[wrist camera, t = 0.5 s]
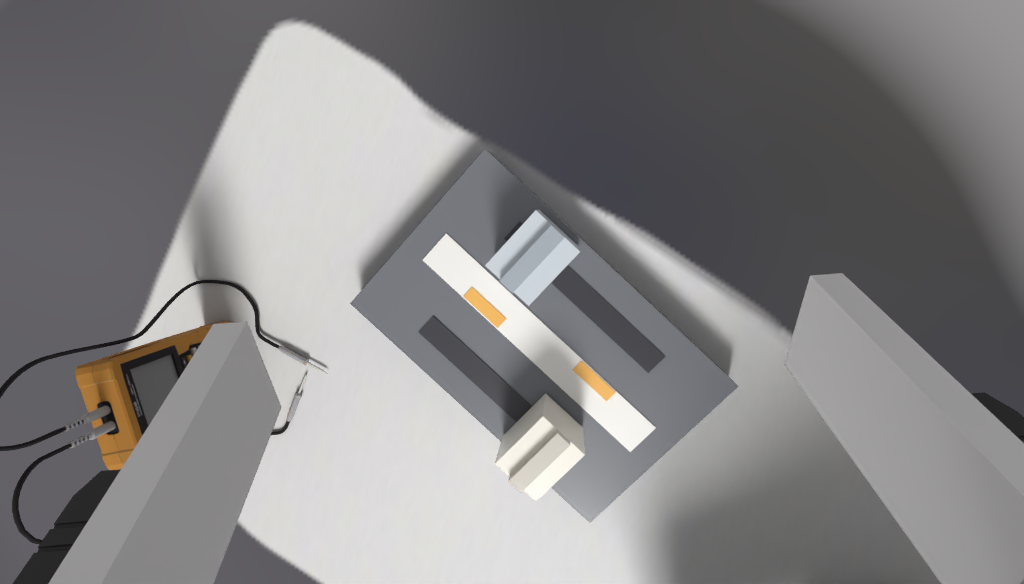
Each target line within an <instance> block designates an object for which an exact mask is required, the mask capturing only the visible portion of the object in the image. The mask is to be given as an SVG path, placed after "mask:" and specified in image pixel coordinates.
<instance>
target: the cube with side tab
mask: <svg viewBox="0 0 1024 584" xmlns="http://www.w3.org/2000/svg"><path fill="white" fill-rule="evenodd" d="M579 253H580V249H579V246H578V245H577V244H576V243H575V242H573V241H572V240H571V239H570V238H569V237H568V236H567V235H566V234H565V233H564V232H563V231H562V230H561V229H560V228H559V227H557V226H556V225H555V224H554V223H553V222H552V221H551V220H550V219H549V218H548V217H547V216H546V215H545V214H544V213H543V212H541V211H540V210H535V211H534V213H533V214H532V215H531V216H530V217H529V218H528V219H527V220H526V221H525V222H524V223H523V225H522V226H521V227H520V228H519V229H518V230H517V231H516V232H515V233H514V234H513V236H512V237H511V238H510V239H509V240H508V241H507V242H506V243H505V244H504V245H503V246H502V248H501V249H500V250H499V251H498V252H497V253H496V254H495V255H494V256H493V257H492V258H491V260H490V261H489V262H488V263H487V264H486V265H485V266H486V267H487V268H488V269H489V270H490V271H491V272H492V273H494V274H495V275H496V276H497V277H498V278H499V279H500V282H501V283H502V284H503V285H504V286H505V287H506V288H507V289H508V290H509V291H511V292H512V293H513V292H514V293H515V294H516V295H517V296H518V297H519V298H520V299H522V300H523V301H524V302H525V303H526V304H527V305H528V306H529V305H530V304H531V303H532V302H533V301H534V300H535V299H536V298H537V297H538V296H539V295H540V294H541V293H542V291H543V290H544V289H545V288H546V287H547V286H548V285H549V284H550V283H551V282H552V281H553V280H554V279H555V278H556V277H557V276H558V275H559V274H560V273H561V272H562V270H563V269H564V268H565V267H566V266H567V265H568V264H569V263H570V262H571V261H572V260H573V259H574V258H575V257H576V256H577V255H578V254H579Z"/></svg>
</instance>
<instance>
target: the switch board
mask: <svg viewBox="0 0 1024 584" xmlns="http://www.w3.org/2000/svg"><path fill="white" fill-rule="evenodd" d="M535 210H540V211H541V212H543V213H544V214H545V215H546V216H547V217H548V218H549V219H550V220H551V221H552V222H553V223H554V224H555V225H556V226H557V227H559V228H560V229H561V230H562V231H563V232H564V233H565V234H566V235H567V236H568V237H569V238H570V239H571V240H572V241H573V242H575V243H576V244H577V245H578V246H579V249H580V253H579V254H578V255H577V256H576V257H575V258H574V259H573V260H572V261H571V262H570V263H569V264H568V265H567V266H566V267H565V268H564V269H563V270H562V272H561V273H560V274H559V275H558V276H557V277H556V278H555V279H554V280H553V281H552V282H551V283H550V284H549V285H548V286H547V287H546V288H545V289H544V290H543V291H542V293H541V294H540V295H539V296H538V297H537V298H536V299H535V300H534V301H533V302H532V303H531V304H530V305H529V306H528V305H527V304H526V303H525V302H524V301H523V300H522V299H520V298H519V297H518V296H517V295H516V294H515V293H514V292H513V293H512V292H511V291H509V290H508V289H507V288H506V287H505V286H504V285H503V284H502V283H501V282H500V279H499V278H498V277H497V276H496V275H495V274H494V273H492V272H491V271H490V270H489V269H488V268H487V267H486V266H485V265H486V264H487V263H488V262H489V261H490V260H491V258H492V257H493V256H494V255H495V254H496V253H497V252H498V251H499V250H500V249H501V248H502V246H503V245H504V244H505V243H506V242H507V241H508V240H509V239H510V238H511V237H512V236H513V234H514V233H515V232H516V231H517V230H518V229H519V228H520V227H521V226H522V225H523V223H524V222H525V221H526V220H527V219H528V218H529V217H530V216H531V215H532V214H533V213H534V211H535ZM350 304H351V305H352V306H353V307H355V308H356V309H357V310H358V311H359V312H360V313H361V314H362V315H363V316H364V317H365V318H367V319H368V320H369V321H370V322H371V323H372V324H373V325H374V326H375V327H376V328H377V329H379V330H380V331H381V332H382V333H383V334H384V335H385V336H386V337H387V338H388V339H389V340H391V341H392V342H393V343H394V344H395V345H396V346H397V347H398V348H399V349H400V350H402V351H403V352H404V353H405V354H406V355H407V356H408V357H409V358H410V359H411V360H412V361H414V362H415V363H416V364H417V365H418V366H419V367H420V368H421V369H422V370H423V371H424V372H426V373H427V374H428V375H429V376H430V377H431V378H432V379H433V380H434V381H435V382H436V383H438V384H439V385H440V386H441V387H442V388H443V389H444V390H445V391H446V392H447V393H449V394H450V395H451V396H452V397H453V398H454V399H455V400H456V401H457V402H458V403H459V404H461V405H462V406H463V407H464V408H465V409H466V410H467V411H468V412H469V413H470V414H471V415H473V416H474V417H475V418H476V419H477V420H478V421H479V422H480V423H481V424H482V425H483V426H485V427H486V428H487V429H488V430H489V431H490V432H491V433H492V434H493V435H494V436H495V437H497V438H498V439H499V440H500V441H501V440H502V437H503V435H504V434H505V433H506V432H507V431H508V430H509V429H510V428H511V427H512V426H513V425H514V424H515V423H516V422H517V421H518V420H519V419H520V418H521V417H522V416H523V415H524V414H525V413H526V412H527V411H528V410H529V409H530V408H531V407H532V406H533V405H534V404H535V403H536V402H537V401H538V400H539V399H540V398H541V397H542V396H543V395H544V394H545V393H546V394H547V395H548V396H549V397H550V398H551V399H553V400H554V401H555V402H556V403H557V404H558V405H559V406H560V407H561V408H562V409H563V410H564V411H566V412H567V413H568V414H569V415H570V416H571V417H572V418H573V419H574V420H575V421H576V422H577V423H579V424H580V425H581V426H582V427H583V433H584V447H585V456H583V457H582V458H581V459H580V460H579V461H578V462H577V463H576V464H575V465H574V466H573V467H572V468H571V469H570V470H569V471H568V472H567V473H566V474H565V475H564V476H562V477H561V478H560V479H559V480H558V481H557V482H556V483H555V484H554V485H553V486H552V487H551V488H552V489H553V490H555V491H556V492H557V493H558V494H559V495H560V496H561V497H562V498H563V499H564V500H565V501H567V502H568V503H569V504H570V505H571V506H572V507H573V508H574V509H575V510H576V511H577V512H579V513H580V514H581V515H582V516H583V517H584V518H585V519H586V520H587V521H588V522H589V523H590V522H591V521H592V520H593V519H595V518H596V517H597V516H598V515H599V514H600V513H601V512H602V511H603V510H604V509H605V508H606V507H608V506H609V505H610V504H611V503H612V502H613V501H614V500H615V499H616V498H617V497H618V496H620V495H621V494H622V493H623V492H624V491H625V490H626V489H627V488H628V487H629V486H630V485H631V484H633V483H634V482H635V481H636V480H637V479H638V478H639V477H640V476H641V475H642V474H643V473H645V472H646V471H647V470H648V469H649V468H650V467H651V466H652V465H653V464H654V463H655V462H656V461H658V460H659V459H660V458H661V457H662V456H663V455H664V454H665V453H666V452H667V451H668V450H670V449H671V448H672V447H673V446H674V445H675V444H676V443H677V442H678V441H679V440H680V439H682V438H683V437H684V436H685V435H686V434H687V433H688V432H689V431H690V430H691V429H692V428H693V427H695V426H696V425H697V424H698V423H699V422H700V421H701V420H702V419H703V418H704V417H705V416H707V415H708V414H709V413H710V412H711V411H712V410H713V409H714V408H715V407H716V406H717V405H718V404H720V403H721V402H722V401H723V400H724V399H725V398H726V397H727V396H728V395H729V394H730V393H732V392H733V391H734V390H735V389H736V388H737V387H738V386H737V385H736V384H735V383H734V381H733V380H732V379H731V378H730V377H729V376H728V375H727V374H726V373H725V372H724V371H722V370H721V369H720V368H719V367H718V366H717V365H716V364H715V363H714V362H713V361H712V360H711V359H710V358H709V357H708V356H706V355H705V354H704V353H703V352H702V351H701V350H700V349H699V348H698V347H697V346H696V345H695V344H694V343H693V342H692V341H690V340H689V339H688V338H687V337H686V336H685V335H684V334H683V333H682V332H681V331H680V330H679V329H678V328H677V327H676V326H674V325H673V324H672V323H671V322H670V321H669V320H668V319H667V318H666V317H665V316H664V315H663V314H662V313H661V312H660V311H658V310H657V309H656V308H655V307H654V306H653V305H652V304H651V303H650V302H649V301H648V300H647V299H646V298H645V297H643V296H642V295H641V294H640V293H639V292H638V291H637V290H636V289H635V288H634V287H633V286H632V285H631V284H630V283H629V282H627V281H626V280H625V279H624V278H623V277H622V276H621V275H620V274H619V273H618V272H617V271H616V270H615V269H614V268H613V267H611V266H610V265H609V264H608V263H607V262H606V261H605V260H604V259H603V258H602V257H601V256H600V255H599V254H598V253H597V252H595V251H594V250H593V249H592V248H591V247H590V246H589V245H588V244H587V243H586V242H585V241H584V240H583V239H582V238H581V237H579V236H578V235H577V234H576V233H575V232H574V231H573V230H572V229H571V228H570V227H569V226H568V225H567V224H566V223H565V222H563V221H562V220H561V219H560V218H559V217H558V216H557V215H556V214H555V213H554V212H553V211H552V210H551V209H550V208H549V207H547V206H546V205H545V204H544V203H543V202H542V201H541V200H540V199H539V198H538V197H537V196H536V195H535V194H534V193H533V192H531V191H530V190H529V189H528V188H527V187H526V186H525V185H524V184H523V183H522V182H521V181H520V180H519V179H518V178H517V177H515V176H514V175H513V174H512V173H511V172H510V171H509V170H508V169H507V168H506V167H505V166H504V165H503V164H502V163H501V162H499V161H498V160H497V159H496V158H495V157H494V156H493V155H492V154H491V153H490V152H489V151H487V150H486V149H484V150H483V152H482V153H481V154H480V155H479V156H478V157H477V158H476V160H475V161H474V162H473V163H472V164H471V165H470V166H469V168H468V169H467V170H466V171H465V172H464V173H463V175H462V176H461V177H460V178H459V179H458V180H457V181H456V183H455V184H454V185H453V186H452V187H451V188H450V189H449V191H448V192H447V193H446V194H445V195H444V196H443V197H442V199H441V200H440V201H439V202H438V203H437V204H436V206H435V207H434V208H433V209H432V210H431V211H430V212H429V214H428V215H427V216H426V217H425V218H424V219H423V220H422V222H421V223H420V224H419V225H418V226H417V227H416V229H415V230H414V231H413V232H412V233H411V234H410V235H409V237H408V238H407V239H406V240H405V241H404V242H403V243H402V245H401V246H400V247H399V248H398V249H397V250H396V252H395V253H394V254H393V255H392V256H391V257H390V258H389V260H388V261H387V262H386V263H385V264H384V265H383V266H382V268H381V269H380V270H379V271H378V272H377V273H376V274H375V276H374V277H373V278H372V279H371V280H370V281H369V283H368V284H367V285H366V286H365V287H364V288H363V289H362V291H361V292H360V293H359V294H358V295H357V296H356V297H355V299H354V300H353V301H352V302H351V303H350Z"/></svg>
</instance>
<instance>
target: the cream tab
mask: <svg viewBox="0 0 1024 584" xmlns="http://www.w3.org/2000/svg"><path fill="white" fill-rule="evenodd" d="M583 456H585V447H584V433H583V427H582V426H581V425H580V424H579V423H577V422H576V421H575V420H574V419H573V418H572V417H571V416H570V415H569V414H568V413H567V412H566V411H564V410H563V409H562V408H561V407H560V406H559V405H558V404H557V403H556V402H555V401H554V400H553V399H551V398H550V397H549V396H548V395H547V394H546V393H545V394H544V395H543V396H542V397H541V398H540V399H539V400H538V401H537V402H536V403H535V404H534V405H533V406H532V407H531V408H530V409H529V410H528V411H527V412H526V413H525V414H524V415H523V416H522V417H521V418H520V419H519V420H518V421H517V422H516V423H515V424H514V425H513V426H512V427H511V428H510V429H509V430H508V431H507V432H506V433H505V434H504V435H503V437H502V440H501V444H500V447H499V451H498V454H497V458H496V462H495V465H496V466H498V467H499V468H500V469H501V470H502V471H503V472H504V473H505V474H506V475H507V476H508V477H509V482H510V483H511V484H512V485H513V486H514V487H515V488H516V489H517V490H518V491H519V492H522V491H523V490H524V491H525V492H526V493H527V494H528V495H529V496H530V497H531V498H533V499H534V500H535V501H537V500H538V499H539V498H540V497H542V496H543V495H544V494H545V493H546V492H547V491H548V490H549V489H550V488H551V487H552V486H553V485H554V484H555V483H556V482H557V481H558V480H559V479H560V478H561V477H562V476H564V475H565V474H566V473H567V472H568V471H569V470H570V469H571V468H572V467H573V466H574V465H575V464H576V463H577V462H578V461H579V460H580V459H581V458H582V457H583Z"/></svg>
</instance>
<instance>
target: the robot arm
mask: <svg viewBox="0 0 1024 584" xmlns="http://www.w3.org/2000/svg"><path fill="white" fill-rule="evenodd" d="M784 365H785V366H786V367H787V369H788V370H789V372H790V373H791V374H792V376H793V377H794V379H795V380H796V381H797V383H798V384H799V386H800V387H801V388H802V390H803V391H804V393H805V394H806V395H807V397H808V398H809V400H810V401H811V402H812V404H813V405H814V407H815V408H816V409H817V411H818V412H819V414H820V415H821V416H822V418H823V419H824V421H825V422H826V423H827V425H828V426H829V428H830V429H831V430H832V432H833V433H834V435H835V436H836V437H837V439H838V440H839V442H840V443H841V444H842V446H843V447H844V449H845V450H846V451H847V453H848V454H849V456H850V457H851V458H852V460H853V461H854V463H855V464H856V465H857V467H858V468H859V470H860V471H861V472H862V474H863V475H864V477H865V478H866V479H867V481H868V482H869V484H870V485H871V486H872V488H873V489H874V491H875V492H876V493H877V495H878V496H879V498H880V499H881V500H882V502H883V503H884V505H885V506H886V507H887V509H888V510H889V512H890V513H891V514H892V516H893V517H894V519H895V520H896V521H897V523H898V524H899V526H900V527H901V528H902V530H903V531H904V533H905V534H906V535H907V537H908V538H909V540H910V541H911V542H912V544H913V545H914V547H915V548H916V549H917V551H918V552H919V554H920V555H921V556H922V558H923V559H924V561H925V562H926V563H927V565H928V566H929V568H930V569H931V570H932V572H933V573H934V575H935V576H936V577H937V579H938V580H939V582H940V583H941V584H1024V417H1023V416H1022V415H1020V414H1019V413H1018V412H1017V411H1015V410H1014V409H1012V408H1010V407H1009V406H1007V405H1005V404H1003V403H1001V402H1000V401H998V400H996V399H994V398H993V397H991V396H989V395H988V394H986V393H974V394H971V393H969V392H968V391H967V390H966V389H965V388H964V387H963V386H962V385H961V384H960V383H959V382H958V381H957V380H956V379H954V377H952V376H951V375H950V374H949V373H948V372H947V371H946V370H945V369H944V368H943V367H942V366H941V365H940V364H939V363H938V362H936V361H935V360H934V359H933V358H932V357H931V356H930V355H929V354H928V353H927V352H926V351H924V349H923V348H922V347H920V346H919V345H918V344H917V343H916V342H915V341H914V340H913V339H912V338H911V337H910V336H909V335H908V334H907V333H905V332H904V331H903V330H902V329H901V328H900V327H899V326H898V325H897V324H896V323H895V322H894V321H893V320H892V319H891V318H890V317H888V316H887V315H886V314H885V313H884V312H883V311H882V310H881V309H880V308H879V307H878V306H877V305H875V303H874V302H872V301H871V300H870V299H869V298H868V297H867V296H866V295H865V294H864V293H863V292H862V291H861V290H860V289H858V287H856V286H855V285H854V284H853V283H852V282H851V281H850V280H849V279H848V278H847V277H846V276H845V275H844V274H843V273H838V274H825V275H814V276H810V278H809V281H808V285H807V288H806V292H805V295H804V299H803V302H802V305H801V309H800V312H799V316H798V319H797V323H796V326H795V329H794V333H793V336H792V340H791V343H790V347H789V350H788V353H787V357H786V360H785V364H784ZM280 410H281V405H280V402H279V400H278V397H277V395H276V392H275V390H274V387H273V385H272V382H271V380H270V377H269V375H268V372H267V370H266V367H265V365H264V362H263V360H262V357H261V355H260V352H259V350H258V347H257V345H256V342H255V340H254V337H253V335H252V332H251V330H250V327H249V325H248V322H247V321H246V322H234V323H221V324H213V326H212V327H211V329H210V330H209V332H208V333H207V335H206V337H205V338H204V340H203V341H202V343H201V344H200V346H199V348H198V349H197V351H196V352H195V354H194V355H193V357H192V359H191V360H190V362H189V363H188V365H187V366H186V368H185V370H184V371H183V373H182V374H181V376H180V377H179V379H178V381H177V382H176V384H175V385H174V387H173V388H172V390H171V392H170V393H169V395H168V396H167V398H166V399H165V401H164V403H163V404H162V406H161V407H160V409H159V410H158V412H157V414H156V415H155V417H154V418H153V420H152V421H151V423H150V425H149V426H148V428H147V429H146V431H145V432H144V434H143V436H142V437H141V439H140V440H139V442H138V444H137V445H136V447H135V448H134V450H133V451H132V453H131V455H130V456H129V458H128V459H127V461H126V462H125V464H124V466H123V467H122V469H119V470H108V471H101V472H100V473H98V474H97V475H96V476H95V477H94V478H93V479H92V480H91V481H89V483H87V484H86V485H85V486H84V487H83V488H82V489H81V490H79V491H78V492H77V493H76V494H75V495H74V496H73V497H72V499H71V500H70V502H69V503H68V505H67V506H66V507H65V509H64V510H63V512H62V513H61V515H60V516H59V517H58V519H57V520H56V522H55V523H54V525H55V527H54V529H51V530H49V532H48V533H47V535H46V536H45V538H44V539H43V541H42V542H41V544H40V545H39V546H38V548H39V550H38V552H37V553H34V554H33V555H32V557H31V558H30V560H29V561H28V562H27V564H26V565H25V567H24V568H23V570H22V571H21V573H20V574H19V576H18V577H17V578H16V580H15V581H14V583H13V584H213V583H214V580H215V578H216V575H217V572H218V570H219V567H220V565H221V562H222V560H223V557H224V554H225V552H226V549H227V546H228V544H229V541H230V539H231V536H232V534H233V531H234V528H235V526H236V523H237V521H238V518H239V516H240V513H241V511H242V508H243V505H244V503H245V500H246V498H247V495H248V492H249V490H250V487H251V485H252V482H253V480H254V477H255V474H256V472H257V469H258V467H259V464H260V461H261V459H262V456H263V454H264V451H265V448H266V446H267V443H268V441H269V438H270V436H271V433H272V430H273V428H274V425H275V423H276V420H277V417H278V415H279V412H280Z"/></svg>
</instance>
